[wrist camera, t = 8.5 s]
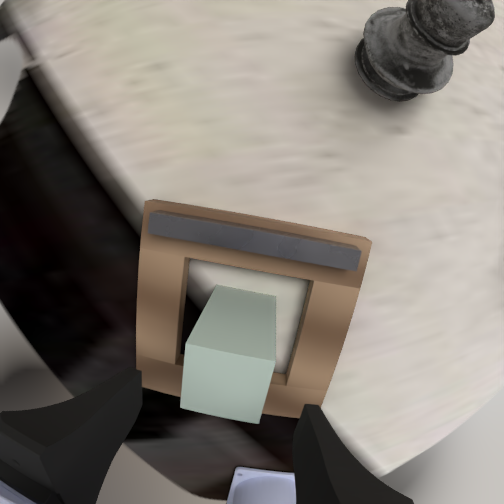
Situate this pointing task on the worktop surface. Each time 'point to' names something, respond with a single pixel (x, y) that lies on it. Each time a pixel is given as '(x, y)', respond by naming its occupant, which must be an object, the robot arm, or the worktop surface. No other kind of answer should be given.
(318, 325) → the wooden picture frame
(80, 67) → the worktop surface
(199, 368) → the peg
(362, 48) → the grey chess piece
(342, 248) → the metal rail
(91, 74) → the worktop surface
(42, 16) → the worktop surface
